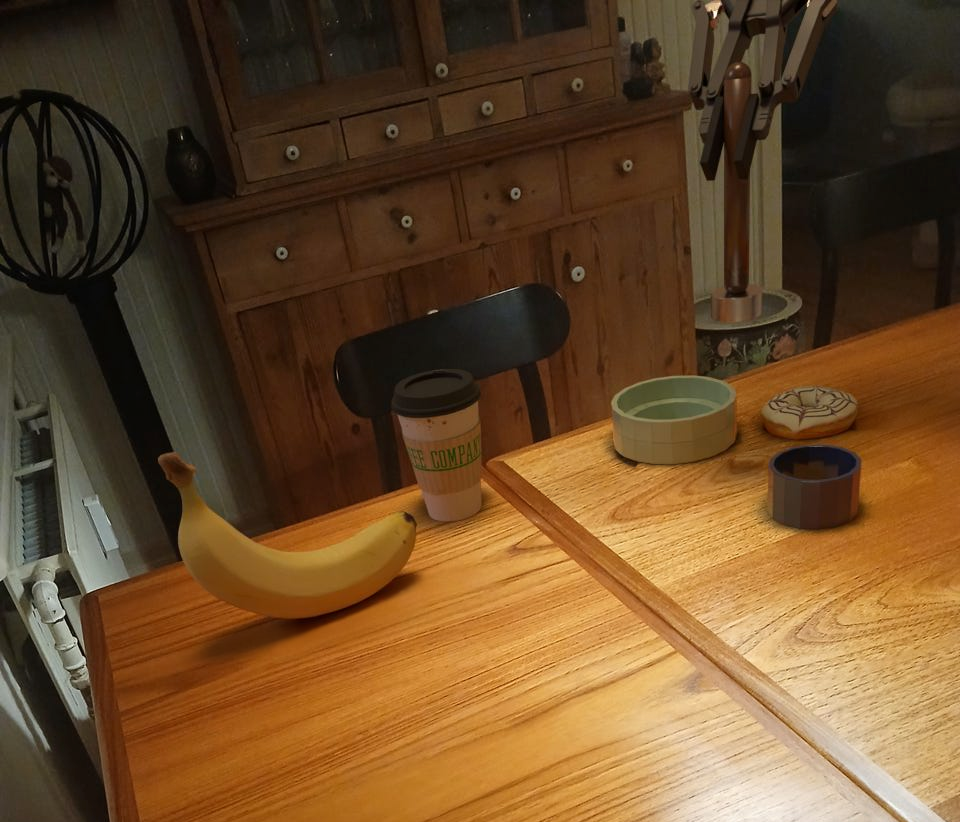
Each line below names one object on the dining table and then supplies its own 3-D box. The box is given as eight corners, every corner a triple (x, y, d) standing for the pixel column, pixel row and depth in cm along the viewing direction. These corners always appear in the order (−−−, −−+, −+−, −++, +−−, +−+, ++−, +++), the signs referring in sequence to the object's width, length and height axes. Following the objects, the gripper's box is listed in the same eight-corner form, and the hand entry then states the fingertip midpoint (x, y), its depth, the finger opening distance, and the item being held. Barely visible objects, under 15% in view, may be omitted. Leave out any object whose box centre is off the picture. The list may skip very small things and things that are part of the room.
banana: (414, 560, 104) (376, 378, 93) (436, 582, 100) (399, 393, 89) (208, 636, 97) (140, 449, 86) (222, 663, 93) (153, 469, 82)
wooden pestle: (764, 306, 101) (769, 54, 88) (758, 322, 97) (763, 61, 84) (714, 308, 102) (713, 61, 90) (707, 323, 99) (704, 69, 86)
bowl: (743, 421, 122) (743, 374, 119) (727, 471, 111) (726, 421, 108) (628, 421, 127) (625, 376, 124) (602, 469, 116) (598, 422, 113)
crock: (858, 498, 102) (862, 444, 98) (855, 538, 95) (859, 482, 92) (772, 496, 105) (773, 444, 101) (763, 535, 98) (764, 481, 95)
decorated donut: (743, 426, 121) (743, 397, 118) (817, 404, 123) (818, 374, 121) (797, 453, 112) (798, 422, 110) (874, 428, 115) (877, 397, 113)
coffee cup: (405, 531, 110) (379, 404, 102) (421, 492, 118) (398, 371, 110) (491, 526, 108) (472, 395, 100) (502, 487, 116) (484, 362, 108)
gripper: (871, -44, 91) (817, 192, 89) (708, -20, 98) (654, 198, 96) (863, -114, 84) (804, 138, 82) (689, -83, 92) (631, 150, 89)
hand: (724, 170), depth 89 cm, fingers closed on wooden pestle, 2 cm apart
